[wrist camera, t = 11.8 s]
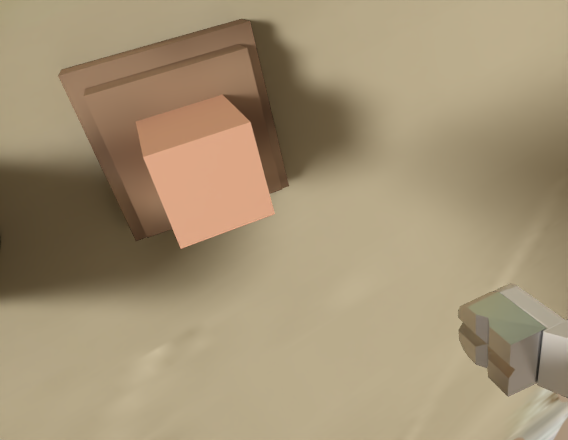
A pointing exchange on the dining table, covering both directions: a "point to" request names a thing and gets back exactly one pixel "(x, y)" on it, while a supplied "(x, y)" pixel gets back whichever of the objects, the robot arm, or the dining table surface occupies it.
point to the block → (205, 169)
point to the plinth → (168, 107)
